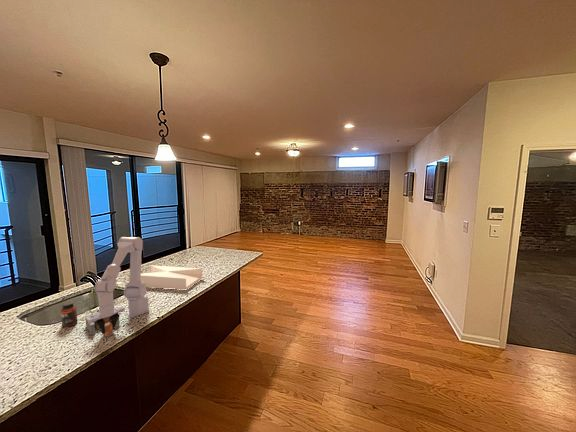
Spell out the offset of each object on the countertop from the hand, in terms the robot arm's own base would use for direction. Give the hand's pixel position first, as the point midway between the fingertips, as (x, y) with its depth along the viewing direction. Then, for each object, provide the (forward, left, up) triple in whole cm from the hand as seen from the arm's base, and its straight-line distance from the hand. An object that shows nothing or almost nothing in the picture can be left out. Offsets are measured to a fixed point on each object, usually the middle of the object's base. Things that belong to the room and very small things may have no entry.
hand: (108, 331), depth 118 cm
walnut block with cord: (0, -6, -1) cm, 7 cm away
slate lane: (0, -10, -1) cm, 10 cm away
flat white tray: (-47, -47, -2) cm, 66 cm away
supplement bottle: (+11, -25, -2) cm, 27 cm away
